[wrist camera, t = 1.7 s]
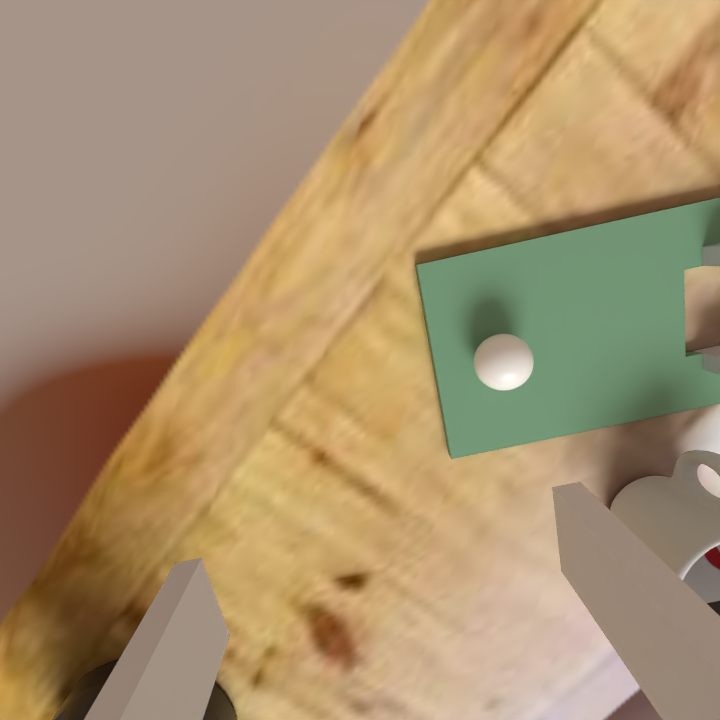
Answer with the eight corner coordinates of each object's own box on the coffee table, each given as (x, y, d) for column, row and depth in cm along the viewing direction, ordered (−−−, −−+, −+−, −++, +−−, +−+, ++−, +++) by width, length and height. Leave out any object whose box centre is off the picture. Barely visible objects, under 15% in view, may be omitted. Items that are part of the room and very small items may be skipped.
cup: (610, 424, 29) (702, 483, 22) (715, 427, 30) (843, 487, 22) (584, 550, 32) (659, 642, 24) (681, 551, 32) (785, 643, 25)
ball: (470, 385, 28) (488, 403, 24) (463, 335, 27) (479, 346, 23) (522, 374, 28) (547, 391, 24) (516, 324, 27) (541, 333, 23)
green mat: (448, 453, 30) (451, 459, 29) (415, 264, 26) (417, 265, 26) (788, 383, 29) (800, 386, 28) (797, 179, 26) (811, 177, 25)
